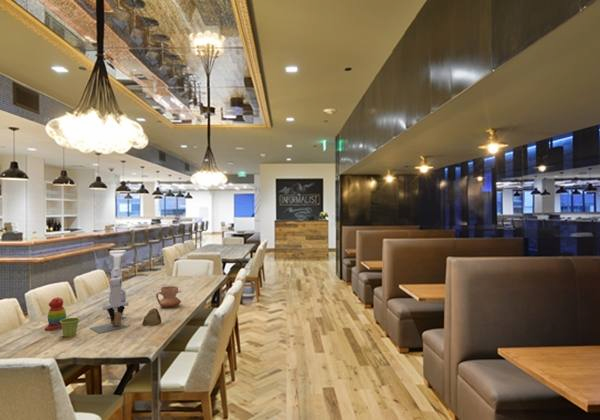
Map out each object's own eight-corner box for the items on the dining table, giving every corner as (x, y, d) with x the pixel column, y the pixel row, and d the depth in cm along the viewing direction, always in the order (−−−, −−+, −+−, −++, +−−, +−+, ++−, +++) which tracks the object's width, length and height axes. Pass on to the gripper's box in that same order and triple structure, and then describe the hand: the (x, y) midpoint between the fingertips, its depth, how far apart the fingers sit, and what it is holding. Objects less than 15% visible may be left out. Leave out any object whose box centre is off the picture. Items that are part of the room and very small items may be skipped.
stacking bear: (48, 325, 226) (49, 296, 226) (68, 323, 229) (68, 295, 229) (43, 331, 216) (43, 300, 216) (63, 329, 219) (63, 299, 219)
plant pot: (75, 331, 215) (75, 316, 215) (82, 334, 209) (82, 319, 209) (57, 335, 208) (57, 320, 208) (63, 339, 202) (63, 323, 202)
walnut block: (111, 323, 225) (111, 311, 225) (116, 322, 228) (117, 310, 228) (115, 325, 221) (115, 313, 221) (121, 324, 224) (121, 312, 224)
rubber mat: (89, 328, 220) (89, 327, 220) (117, 322, 233) (117, 321, 233) (99, 333, 211) (99, 332, 211) (127, 326, 224) (127, 326, 224)
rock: (137, 322, 225) (153, 320, 224) (141, 309, 230) (156, 307, 229) (146, 328, 233) (161, 327, 232) (149, 315, 239) (164, 314, 238)
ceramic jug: (183, 303, 280) (183, 284, 280) (179, 308, 266) (179, 288, 266) (158, 304, 278) (158, 285, 278) (153, 309, 263) (153, 289, 264)
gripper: (106, 300, 217) (106, 323, 217) (130, 296, 228) (130, 318, 228) (101, 298, 221) (101, 321, 221) (125, 294, 233) (125, 316, 232)
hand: (115, 319), depth 225 cm, fingers closed on walnut block, 3 cm apart
